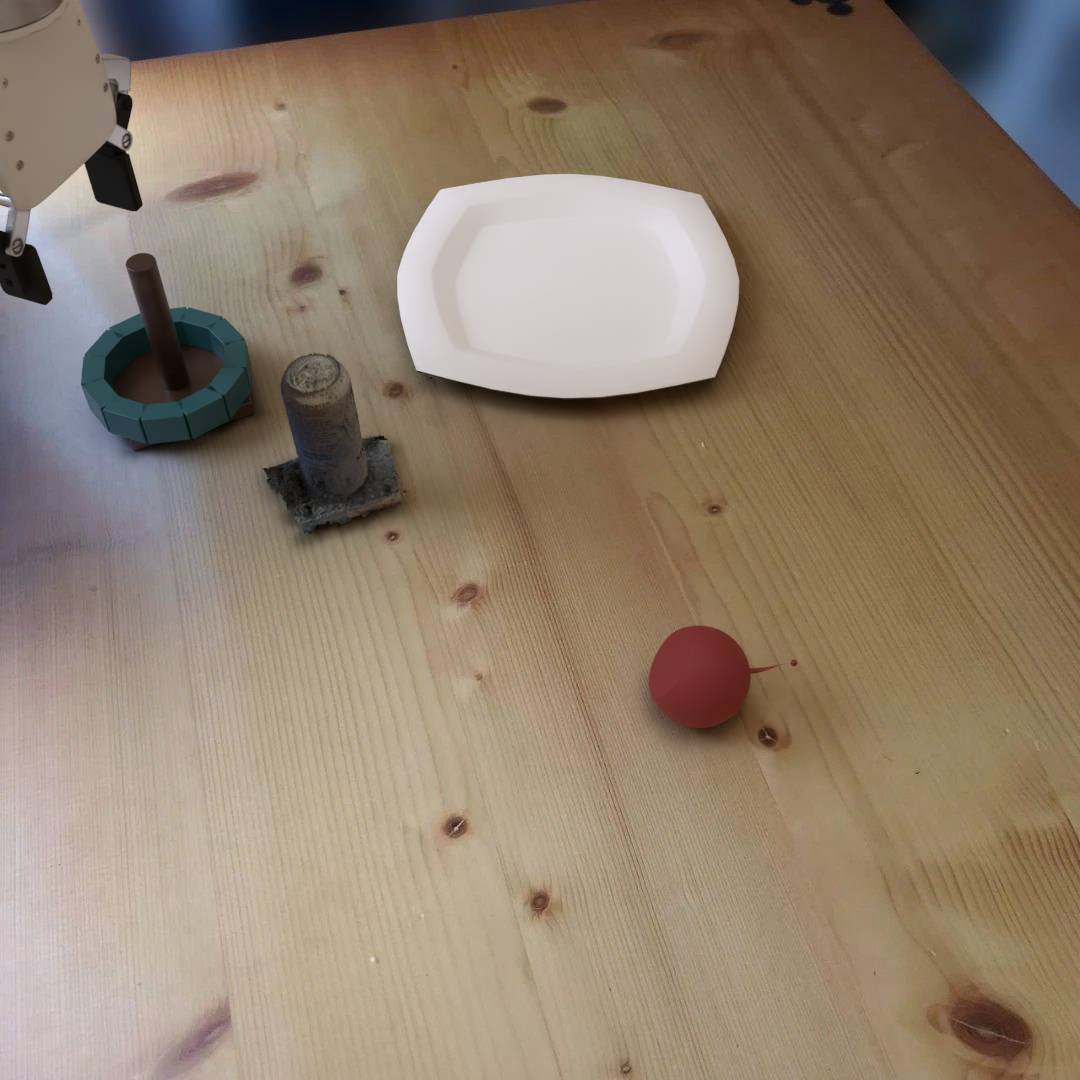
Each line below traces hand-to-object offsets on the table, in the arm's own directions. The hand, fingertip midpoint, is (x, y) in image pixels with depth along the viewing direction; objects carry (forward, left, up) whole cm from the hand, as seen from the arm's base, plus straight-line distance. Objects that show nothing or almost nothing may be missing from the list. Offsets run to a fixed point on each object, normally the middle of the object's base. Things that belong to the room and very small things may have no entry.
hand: (76, 249), depth 80 cm
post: (+4, +4, -17) cm, 18 cm away
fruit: (+27, -36, -17) cm, 48 cm away
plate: (+35, +2, -17) cm, 39 cm away
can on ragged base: (+12, -10, -17) cm, 23 cm away
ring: (+3, +3, -16) cm, 17 cm away
